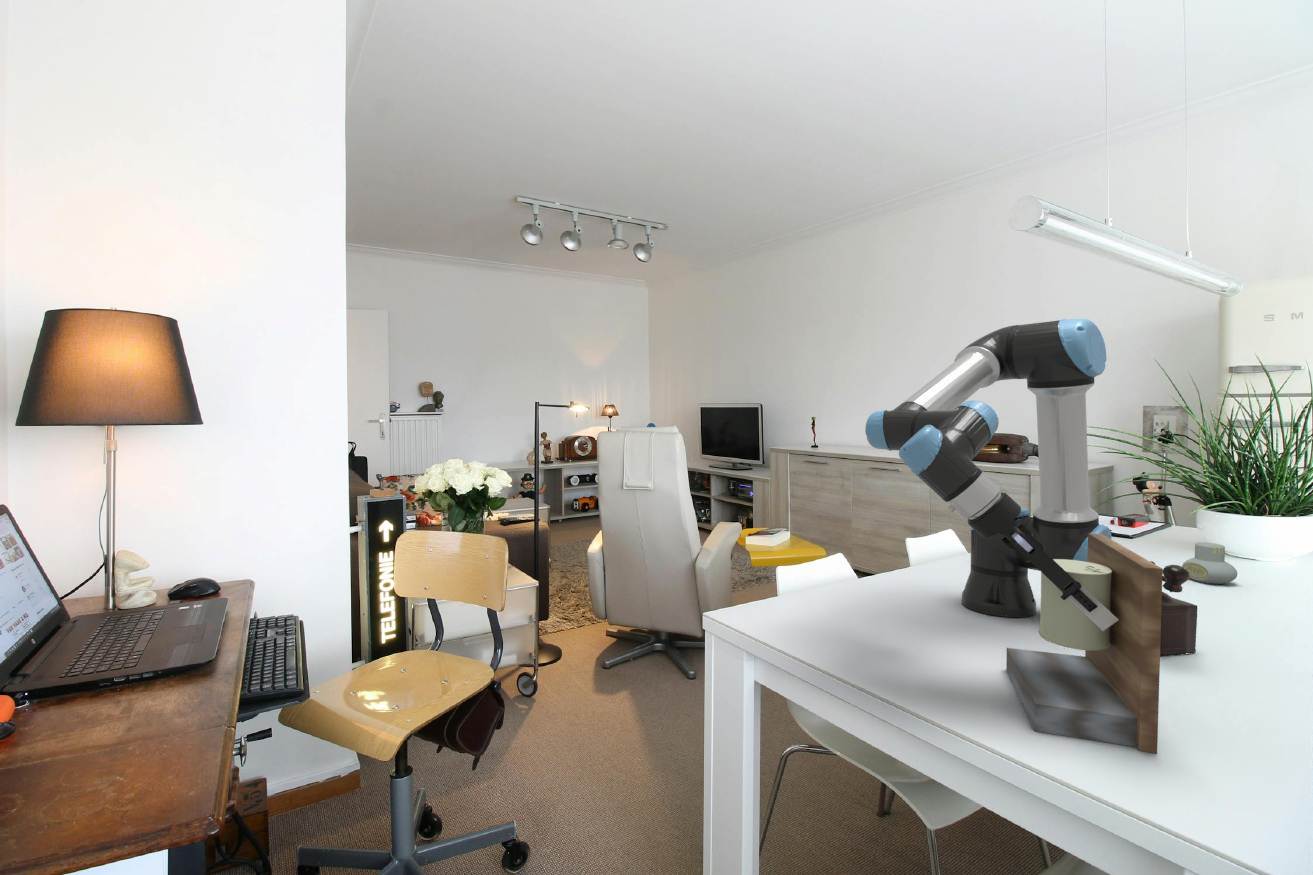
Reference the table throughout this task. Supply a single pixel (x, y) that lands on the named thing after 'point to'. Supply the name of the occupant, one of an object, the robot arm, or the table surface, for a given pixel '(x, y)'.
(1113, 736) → the l-shaped bookend
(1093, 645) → the can
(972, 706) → the table surface
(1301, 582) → the table surface
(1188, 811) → the table surface
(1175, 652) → the dark brown coffee grinder
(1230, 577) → the air freshener
